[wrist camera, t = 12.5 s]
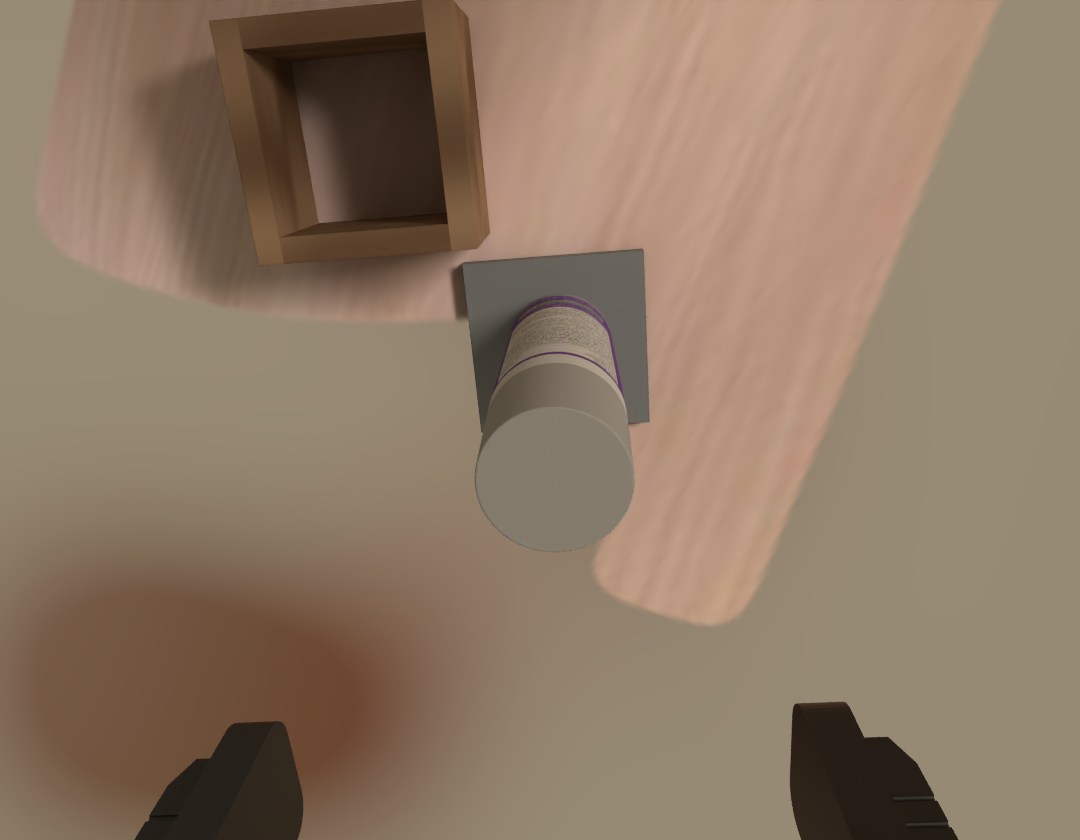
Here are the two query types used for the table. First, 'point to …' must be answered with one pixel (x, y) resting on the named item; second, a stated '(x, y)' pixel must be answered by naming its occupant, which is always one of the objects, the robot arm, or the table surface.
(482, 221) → the holder
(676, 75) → the table surface
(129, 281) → the table surface
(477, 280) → the mat
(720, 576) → the table surface
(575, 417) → the container
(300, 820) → the robot arm
